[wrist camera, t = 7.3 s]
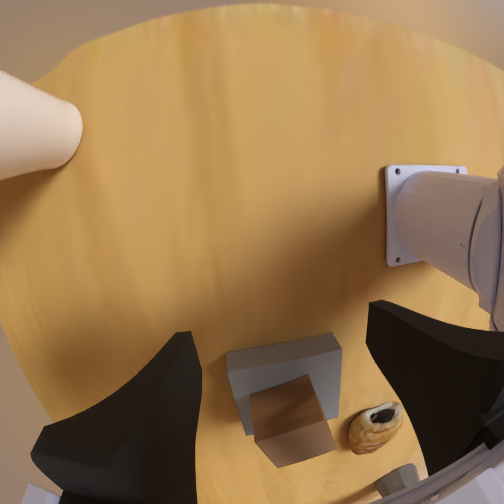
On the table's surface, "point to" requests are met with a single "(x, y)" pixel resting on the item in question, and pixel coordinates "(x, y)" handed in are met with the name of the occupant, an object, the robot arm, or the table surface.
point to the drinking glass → (34, 128)
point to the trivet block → (286, 372)
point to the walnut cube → (290, 423)
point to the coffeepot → (398, 480)
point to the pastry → (375, 427)
